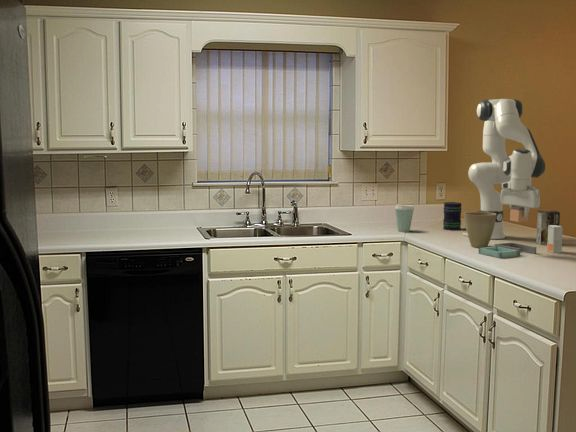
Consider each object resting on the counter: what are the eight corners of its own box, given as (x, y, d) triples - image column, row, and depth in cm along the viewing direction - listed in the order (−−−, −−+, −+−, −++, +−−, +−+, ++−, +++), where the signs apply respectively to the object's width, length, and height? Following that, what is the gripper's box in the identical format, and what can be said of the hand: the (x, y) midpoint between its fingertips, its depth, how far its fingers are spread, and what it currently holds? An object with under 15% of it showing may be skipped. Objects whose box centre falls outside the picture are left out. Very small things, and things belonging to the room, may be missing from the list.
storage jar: (443, 230, 375) (444, 203, 373) (442, 227, 384) (443, 202, 382) (461, 230, 373) (462, 204, 371) (460, 228, 382) (461, 202, 381)
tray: (478, 253, 300) (478, 248, 300) (496, 251, 305) (496, 246, 305) (499, 258, 289) (500, 252, 288) (518, 256, 294) (518, 250, 294)
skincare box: (546, 250, 308) (547, 225, 306) (555, 250, 308) (556, 225, 307) (552, 253, 302) (554, 226, 300) (561, 253, 302) (563, 226, 301)
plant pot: (486, 243, 328) (488, 211, 326) (500, 248, 313) (502, 215, 311) (457, 244, 326) (458, 212, 324) (470, 249, 311) (471, 215, 309)
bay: (494, 250, 308) (494, 244, 308) (511, 248, 313) (511, 242, 313) (518, 255, 295) (518, 248, 295) (536, 253, 300) (536, 247, 300)
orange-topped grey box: (509, 220, 302) (510, 207, 301) (519, 219, 305) (520, 206, 304) (518, 221, 297) (519, 208, 297) (528, 221, 300) (528, 207, 299)
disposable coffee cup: (404, 229, 378) (405, 203, 376) (418, 231, 369) (418, 204, 367) (390, 230, 372) (390, 204, 370) (403, 233, 363) (404, 205, 361)
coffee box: (554, 242, 331) (555, 210, 329) (559, 244, 325) (560, 211, 323) (535, 242, 331) (537, 210, 329) (540, 244, 325) (541, 211, 323)
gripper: (544, 186, 291) (542, 218, 293) (508, 183, 309) (507, 213, 311) (533, 187, 288) (532, 219, 290) (498, 183, 306) (497, 213, 308)
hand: (519, 216), depth 301 cm, fingers closed on orange-topped grey box, 5 cm apart
